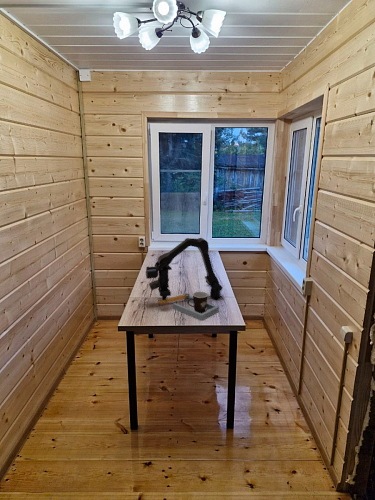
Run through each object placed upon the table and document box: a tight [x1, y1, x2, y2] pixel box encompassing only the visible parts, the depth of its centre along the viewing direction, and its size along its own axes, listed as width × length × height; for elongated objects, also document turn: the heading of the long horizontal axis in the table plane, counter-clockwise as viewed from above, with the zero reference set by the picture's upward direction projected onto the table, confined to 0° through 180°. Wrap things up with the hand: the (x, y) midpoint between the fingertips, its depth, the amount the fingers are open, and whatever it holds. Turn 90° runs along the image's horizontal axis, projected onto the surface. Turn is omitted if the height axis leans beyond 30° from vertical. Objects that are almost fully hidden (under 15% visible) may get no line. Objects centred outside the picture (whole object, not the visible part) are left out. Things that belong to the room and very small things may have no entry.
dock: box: [172, 295, 220, 321], centre depth 186 cm, size 16×26×3 cm, turn 47°
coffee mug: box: [187, 291, 209, 314], centre depth 183 cm, size 12×9×10 cm
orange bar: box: [157, 293, 190, 306], centre depth 194 cm, size 20×3×2 cm, turn 119°
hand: (163, 301), depth 193 cm, fingers closed
